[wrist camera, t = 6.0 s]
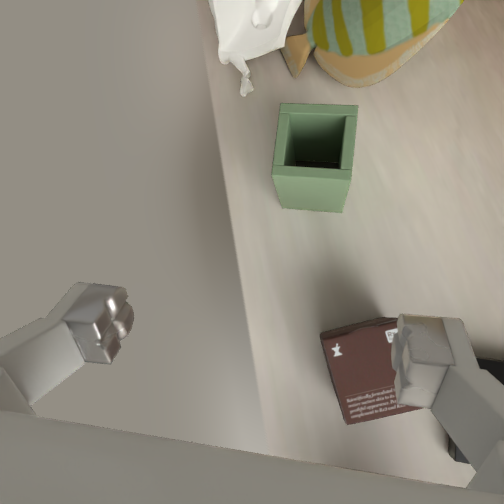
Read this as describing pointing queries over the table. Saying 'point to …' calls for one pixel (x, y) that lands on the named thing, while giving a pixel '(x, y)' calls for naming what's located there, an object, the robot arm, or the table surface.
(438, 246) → the table surface
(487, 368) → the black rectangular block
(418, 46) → the decorative fish sculpture
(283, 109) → the square planter
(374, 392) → the box
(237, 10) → the figurine
